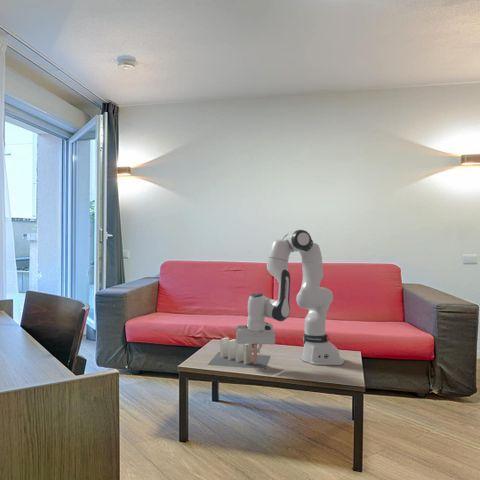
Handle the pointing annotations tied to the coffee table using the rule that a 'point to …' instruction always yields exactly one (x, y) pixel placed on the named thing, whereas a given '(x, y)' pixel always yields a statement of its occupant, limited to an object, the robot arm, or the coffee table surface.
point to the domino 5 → (255, 354)
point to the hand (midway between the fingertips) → (255, 352)
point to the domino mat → (261, 362)
